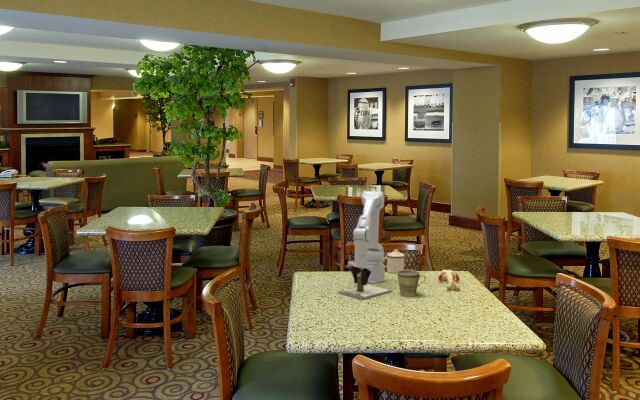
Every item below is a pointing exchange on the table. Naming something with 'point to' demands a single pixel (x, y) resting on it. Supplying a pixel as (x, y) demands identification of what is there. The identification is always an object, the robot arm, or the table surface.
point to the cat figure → (450, 279)
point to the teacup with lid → (394, 261)
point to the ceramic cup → (409, 281)
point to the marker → (359, 283)
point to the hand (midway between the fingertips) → (360, 284)
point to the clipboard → (365, 292)
